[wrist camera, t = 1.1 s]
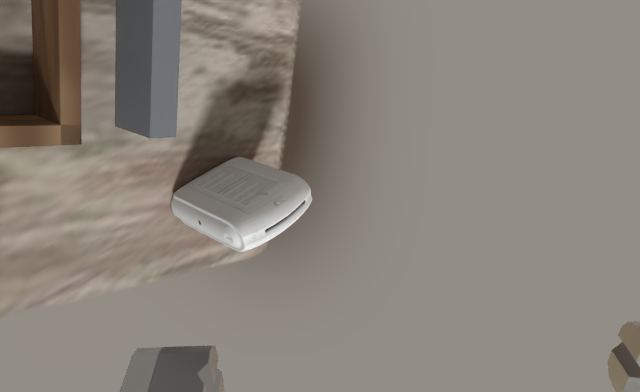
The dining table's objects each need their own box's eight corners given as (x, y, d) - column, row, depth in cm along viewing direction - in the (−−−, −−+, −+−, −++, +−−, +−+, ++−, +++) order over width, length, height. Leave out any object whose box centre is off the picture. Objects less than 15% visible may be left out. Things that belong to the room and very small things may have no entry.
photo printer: (176, 227, 54) (252, 267, 46) (163, 193, 52) (241, 229, 44) (247, 182, 60) (325, 210, 52) (239, 150, 57) (319, 174, 50)
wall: (115, 125, 46) (149, 138, 42) (116, -41, 42) (154, -44, 38) (140, 125, 48) (176, 137, 44) (144, -34, 44) (182, -36, 40)
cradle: (-71, 136, 36) (-52, 149, 33) (-92, -98, 32) (-72, -108, 29) (55, 133, 42) (81, 144, 39) (50, -63, 38) (79, -68, 35)
